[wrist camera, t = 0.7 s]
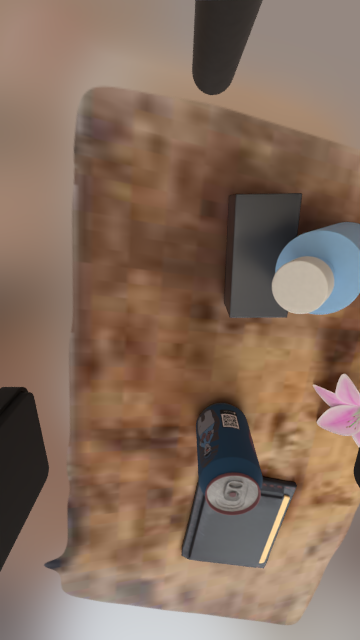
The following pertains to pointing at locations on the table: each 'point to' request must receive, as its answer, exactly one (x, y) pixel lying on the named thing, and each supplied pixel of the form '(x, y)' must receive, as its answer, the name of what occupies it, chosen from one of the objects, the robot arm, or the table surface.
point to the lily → (341, 409)
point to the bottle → (319, 270)
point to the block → (257, 250)
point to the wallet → (238, 528)
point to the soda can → (227, 460)
